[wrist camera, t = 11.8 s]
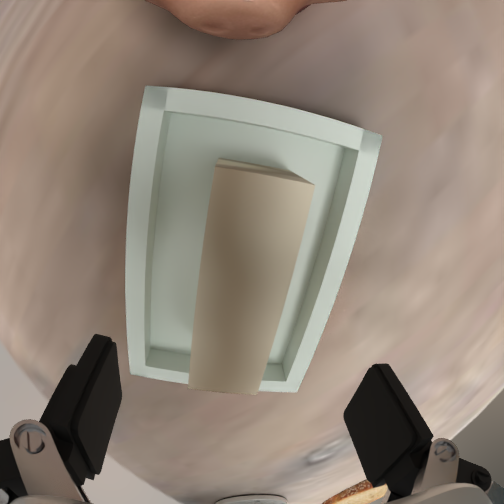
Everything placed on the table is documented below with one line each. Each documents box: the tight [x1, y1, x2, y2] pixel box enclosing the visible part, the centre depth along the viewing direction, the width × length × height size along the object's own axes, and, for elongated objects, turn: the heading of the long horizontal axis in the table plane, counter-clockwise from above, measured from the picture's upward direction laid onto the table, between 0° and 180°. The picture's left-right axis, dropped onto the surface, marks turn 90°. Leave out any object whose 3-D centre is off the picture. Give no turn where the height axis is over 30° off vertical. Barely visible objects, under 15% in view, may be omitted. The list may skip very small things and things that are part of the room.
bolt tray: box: [125, 86, 382, 392], centre depth 17 cm, size 18×12×2 cm
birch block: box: [188, 158, 315, 395], centre depth 16 cm, size 4×12×5 cm, turn 169°
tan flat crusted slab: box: [322, 480, 388, 504], centre depth 38 cm, size 18×18×4 cm
